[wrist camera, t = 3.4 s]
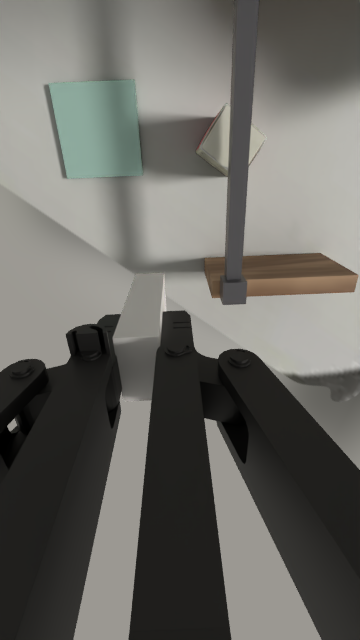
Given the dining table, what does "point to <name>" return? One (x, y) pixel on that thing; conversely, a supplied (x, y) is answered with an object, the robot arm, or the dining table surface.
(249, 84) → the tie bar
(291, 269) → the rack
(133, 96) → the pad
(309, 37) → the dining table surface
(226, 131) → the small box
